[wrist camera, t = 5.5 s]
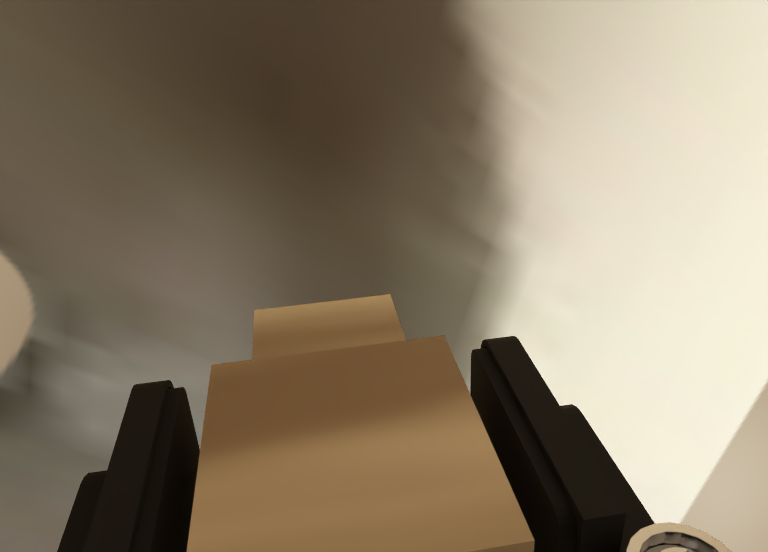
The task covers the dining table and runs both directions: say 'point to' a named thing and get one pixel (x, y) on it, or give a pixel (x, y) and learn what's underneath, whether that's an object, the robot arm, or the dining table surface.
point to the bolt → (348, 443)
